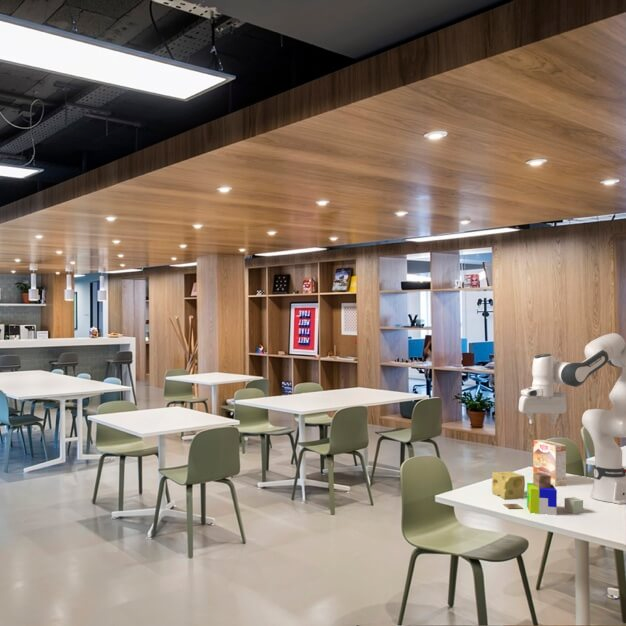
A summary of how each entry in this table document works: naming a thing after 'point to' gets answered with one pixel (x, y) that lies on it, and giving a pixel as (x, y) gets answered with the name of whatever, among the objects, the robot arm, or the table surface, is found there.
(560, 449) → the coffeecake box
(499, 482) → the cheese
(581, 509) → the sage block
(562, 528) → the table surface
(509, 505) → the swatch tile
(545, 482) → the walnut block
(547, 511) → the puzzle toy
